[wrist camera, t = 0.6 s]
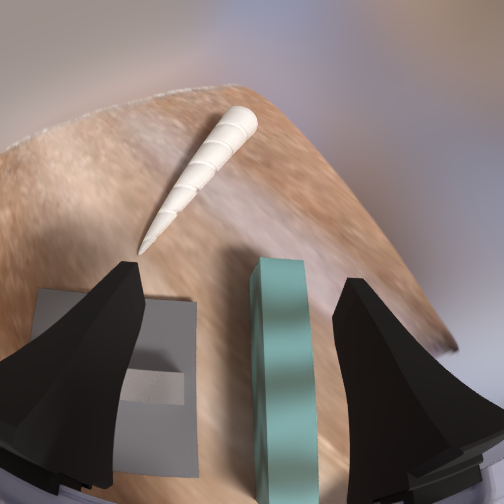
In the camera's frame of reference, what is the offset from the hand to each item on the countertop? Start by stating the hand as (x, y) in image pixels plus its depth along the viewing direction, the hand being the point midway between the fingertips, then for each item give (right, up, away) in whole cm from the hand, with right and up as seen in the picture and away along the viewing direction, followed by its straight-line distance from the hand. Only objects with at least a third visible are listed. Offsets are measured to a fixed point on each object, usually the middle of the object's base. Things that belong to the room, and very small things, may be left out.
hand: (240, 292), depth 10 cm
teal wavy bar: (+2, -11, +15) cm, 19 cm away
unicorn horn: (-6, +10, +25) cm, 28 cm away
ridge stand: (-12, -10, +12) cm, 20 cm away
